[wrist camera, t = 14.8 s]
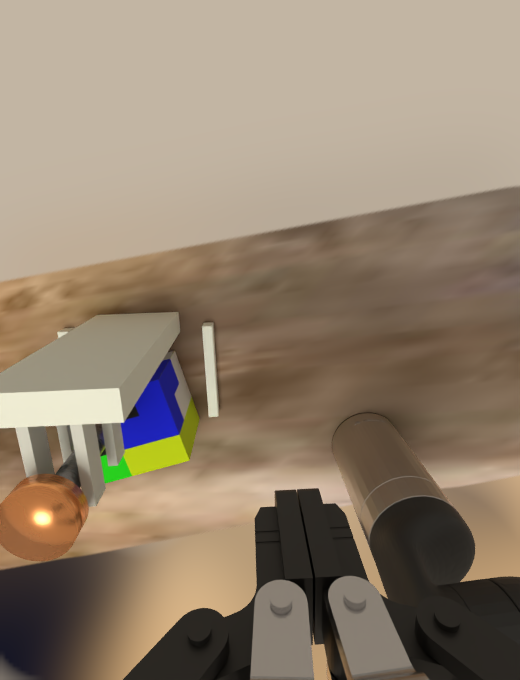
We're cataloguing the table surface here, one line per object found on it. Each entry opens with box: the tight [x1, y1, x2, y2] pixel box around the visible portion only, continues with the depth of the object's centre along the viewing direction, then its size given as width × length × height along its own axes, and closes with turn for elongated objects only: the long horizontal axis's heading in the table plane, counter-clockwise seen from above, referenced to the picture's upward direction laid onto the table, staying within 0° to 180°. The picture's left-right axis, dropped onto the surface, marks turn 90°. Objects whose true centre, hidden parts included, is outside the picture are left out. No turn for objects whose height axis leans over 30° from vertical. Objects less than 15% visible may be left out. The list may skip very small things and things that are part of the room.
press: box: [0, 312, 219, 507], centre depth 39 cm, size 14×18×24 cm
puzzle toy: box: [100, 350, 199, 483], centre depth 47 cm, size 10×10×10 cm
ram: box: [0, 424, 105, 561], centre depth 32 cm, size 5×5×16 cm
